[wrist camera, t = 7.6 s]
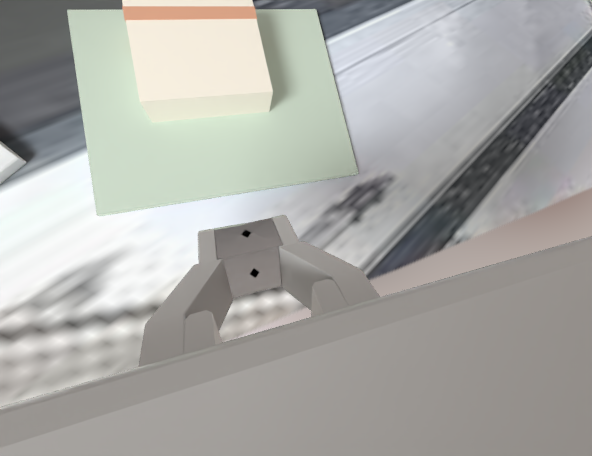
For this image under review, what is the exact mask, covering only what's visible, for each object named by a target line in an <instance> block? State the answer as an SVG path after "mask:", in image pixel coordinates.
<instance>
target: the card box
mask: <svg viewBox="0 0 592 456" xmlns="http://www.w3.org/2000/svg"><path fill="white" fill-rule="evenodd" d="M122 2H123V6H122V8H123V14H124V20H125V22H126V25H127V31H128V37H129V43H130V48H131V54H132V60H133V66H134V71H135V77H136V83H137V89H138V94H139V100H140V103H141V105H142V106H143V108H144V110H145V111H146V113H147V115H148V116H149V118H150V119H151V121H152V123H153V122H164V121H175V120H186V119H197V118H207V117H218V116H229V115H240V114H250V113H261V112H269V111H270V105H271V100H272V95H273V89H272V85H271V81H270V76H269V72H268V67H267V63H266V59H265V54H264V50H263V45H262V41H261V37H260V32H259V28H258V23H257V15H256V11H255V7H254V6H253V1H252V0H122Z"/></svg>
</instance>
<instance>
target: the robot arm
mask: <svg viewBox="0 0 592 456" xmlns="http://www.w3.org/2000/svg"><path fill="white" fill-rule="evenodd" d="M198 258H199V264H196V265H194V266H193V267H192V268H191V269H190V270H189V272H188V273H187V274H186V275H185V277H184V278H183V279H182V280H181V281H180V283H179V284H178V285H177V286H176V288H175V289H174V290H173V291H172V292H171V294H170V295H169V296H168V297H167V299H166V300H165V301H164V302H163V303H162V305H161V306H160V307H159V308H158V310H157V311H156V312H155V313H154V314H153V316H152V317H151V318H150V319H149V321H148V322H147V323H146V324H145V329H144V336H143V342H142V348H141V354H140V361H139V367H137V368H134V369H130V370H127V371H123V372H120V373H116V374H113V375H109V376H106V377H102V378H99V379H96V380H92V381H89V382H85V383H82V384H78V385H75V386H71V387H68V388H64V389H61V390H57V391H54V392H51V393H47V394H44V395H40V396H37V397H33V398H30V399H26V400H23V401H19V402H16V403H13V404H9V405H6V406H2V407H0V456H592V236H590V237H587V238H583V239H580V240H577V241H573V242H569V243H566V244H563V245H559V246H556V247H552V248H549V249H545V250H542V251H538V252H535V253H532V254H528V255H524V256H521V257H517V258H514V259H511V260H507V261H504V262H500V263H497V264H493V265H490V266H487V267H483V268H479V269H476V270H473V271H469V272H466V273H462V274H459V275H455V276H452V277H449V278H445V279H442V280H438V281H435V282H431V283H428V284H424V285H421V286H418V287H414V288H411V289H407V290H403V291H400V292H397V293H393V294H390V295H386V296H383V297H380V296H379V294H378V293H377V292H376V290H375V289H374V287H373V286H372V285H371V283H370V281H369V280H368V279H367V277H366V276H365V274H364V273H363V271H362V270H361V269H359V268H357V267H355V266H353V265H351V264H349V263H347V262H345V261H343V260H341V259H339V258H337V257H335V256H333V255H331V254H329V253H327V252H325V251H323V250H321V249H319V248H317V247H315V246H313V245H311V244H309V243H307V242H305V241H301V242H299V240H298V238H297V236H296V234H295V232H294V230H293V228H292V226H291V224H290V222H289V220H288V218H287V216H286V215H281V216H277V217H272V218H269V219H264V220H259V221H255V222H250V223H245V224H244V223H243V224H237V225H231V226H225V227H220V228H214V229H208V230H203V231H199V232H198ZM280 286H282V288H284V289H285V290H286V291H287V292H289V293H290V294H291V295H292V296H293V297H295V298H296V299H297V300H298V301H300V302H301V303H302V304H303V305H305V306H306V307H307V308H308V309H310V310H311V317H310V318H306V319H303V320H300V321H296V322H293V323H290V324H286V325H283V326H279V327H276V328H272V329H269V330H265V331H262V332H258V333H255V334H251V335H248V336H244V337H241V338H237V339H234V340H230V341H227V342H222V340H221V337H220V334H219V330H220V328H221V325H222V323H223V321H224V319H225V317H226V315H227V312H228V310H229V308H230V306H231V304H232V301H233V298H237V297H240V296H244V295H248V294H251V293H255V292H258V291H263V290H267V289H272V288H276V287H280Z"/></svg>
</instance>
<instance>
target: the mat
mask: <svg viewBox="0 0 592 456" xmlns="http://www.w3.org/2000/svg"><path fill="white" fill-rule="evenodd" d="M255 11H256V15H257V23H258V28H259V32H260V37H261V41H262V45H263V50H264V54H265V59H266V63H267V67H268V72H269V76H270V81H271V85H272V89H273V95H272V100H271V105H270V111H269V112H261V113H250V114H240V115H229V116H218V117H207V118H197V119H186V120H175V121H164V122H153V123H152V121H151V119H150V118H149V116H148V115H147V113H146V111H145V110H144V108H143V106H142V105H141V103H140V100H139V94H138V89H137V83H136V77H135V71H134V66H133V60H132V54H131V48H130V43H129V37H128V31H127V25H126V22H125V20H124V14H123V10H67V13H68V20H69V27H70V34H71V40H72V47H73V54H74V61H75V68H76V75H77V82H78V89H79V95H80V102H81V109H82V116H83V123H84V130H85V137H86V144H87V150H88V157H89V164H90V171H91V178H92V185H93V192H94V199H95V205H96V212H97V215H98V216H104V215H111V214H117V213H123V212H129V211H135V210H142V209H148V208H154V207H160V206H167V205H173V204H179V203H185V202H191V201H198V200H204V199H210V198H216V197H222V196H229V195H235V194H241V193H247V192H253V191H260V190H266V189H272V188H278V187H284V186H291V185H297V184H303V183H309V182H316V181H322V180H328V179H334V178H340V177H347V176H353V175H357V174H358V169H357V165H356V162H355V158H354V154H353V150H352V146H351V142H350V138H349V134H348V131H347V127H346V123H345V119H344V115H343V111H342V107H341V103H340V100H339V96H338V92H337V88H336V84H335V80H334V76H333V73H332V69H331V65H330V61H329V57H328V53H327V49H326V45H325V42H324V38H323V34H322V30H321V26H320V22H319V18H318V14H317V11H316V9H255Z"/></svg>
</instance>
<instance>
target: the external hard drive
mask: <svg viewBox="0 0 592 456" xmlns="http://www.w3.org/2000/svg"><path fill="white" fill-rule="evenodd" d="M26 163H27V162H26V161H25V160H24V159H22V158H21V157H20V156H19V155H17V154H16V153H15V152H14V151H12V150H11V149H10V148H8V147H7V146H6V145H5V144H3V143H2V142H1V141H0V184H1V183H2V182H4V181H5V180H6V179H7V178H8V177H10V176H11V175H12V174H13V173H15V172H16V171H17V170H19V169H20V168H21V167H22V166H23V165H25V164H26Z"/></svg>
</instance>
